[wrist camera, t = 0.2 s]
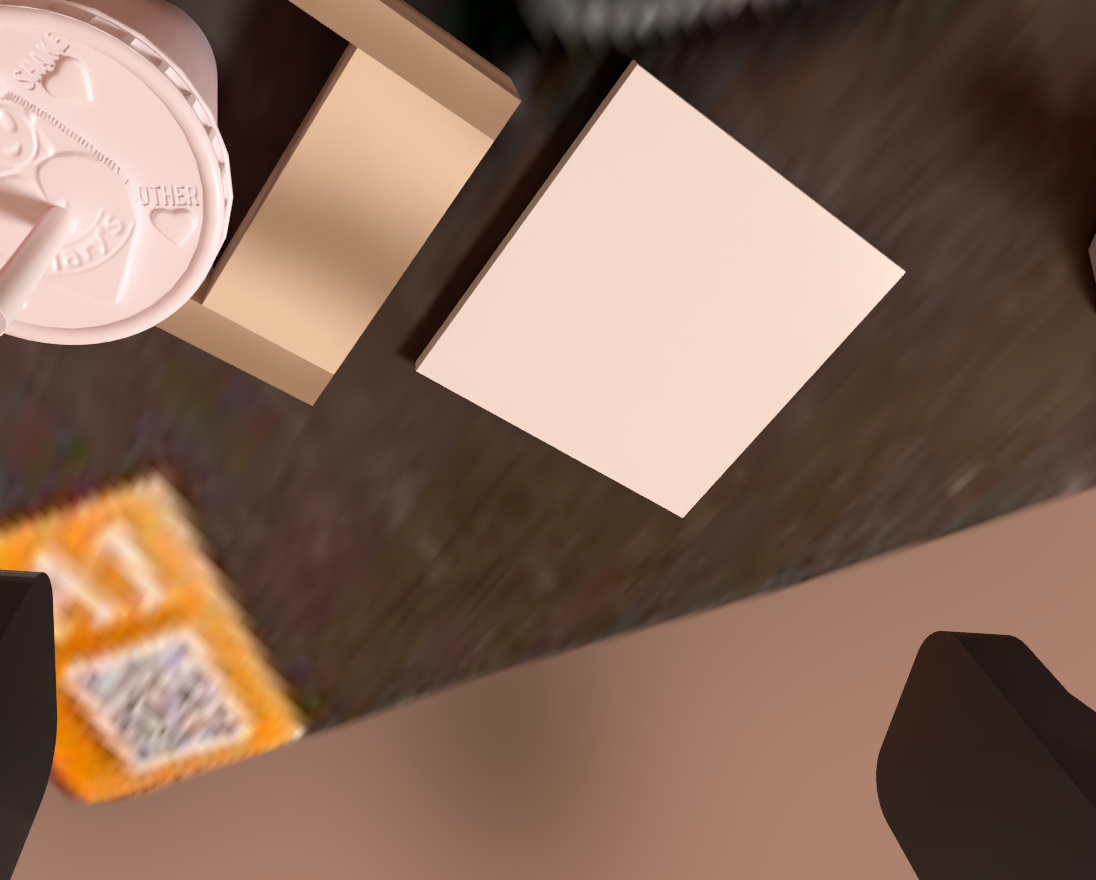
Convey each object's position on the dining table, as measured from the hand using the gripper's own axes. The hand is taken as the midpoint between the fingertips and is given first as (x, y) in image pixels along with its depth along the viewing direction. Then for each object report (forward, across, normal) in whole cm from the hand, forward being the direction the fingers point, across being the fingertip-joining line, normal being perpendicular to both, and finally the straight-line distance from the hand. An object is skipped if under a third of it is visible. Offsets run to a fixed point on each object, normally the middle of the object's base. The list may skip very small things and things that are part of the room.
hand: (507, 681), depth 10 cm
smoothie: (+22, +8, -2) cm, 23 cm away
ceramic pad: (+23, -8, +3) cm, 24 cm away
